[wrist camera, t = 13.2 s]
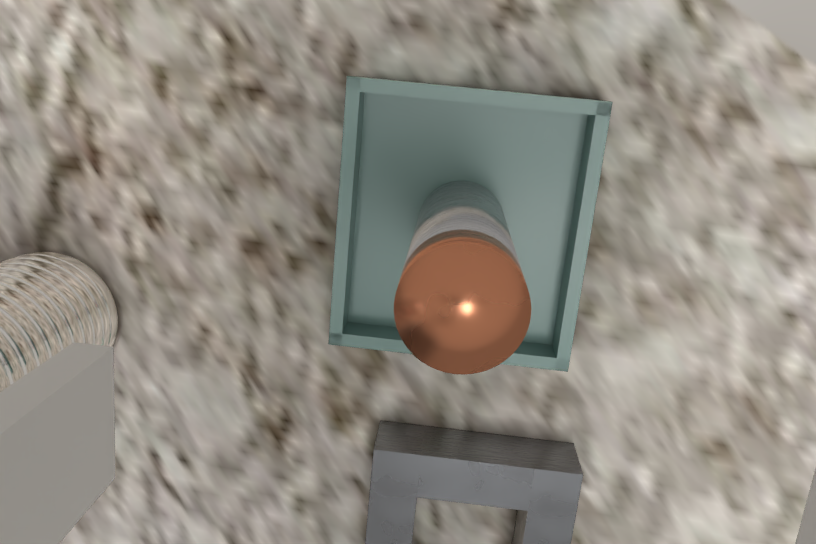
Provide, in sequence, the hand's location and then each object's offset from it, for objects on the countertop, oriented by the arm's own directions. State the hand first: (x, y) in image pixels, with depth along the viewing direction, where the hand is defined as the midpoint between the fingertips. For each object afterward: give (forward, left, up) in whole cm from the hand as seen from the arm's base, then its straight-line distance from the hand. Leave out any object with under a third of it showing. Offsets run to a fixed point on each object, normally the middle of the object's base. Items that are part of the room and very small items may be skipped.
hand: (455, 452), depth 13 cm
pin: (0, 0, -21) cm, 21 cm away
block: (+2, -16, -22) cm, 27 cm away
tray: (0, 0, -22) cm, 22 cm away
